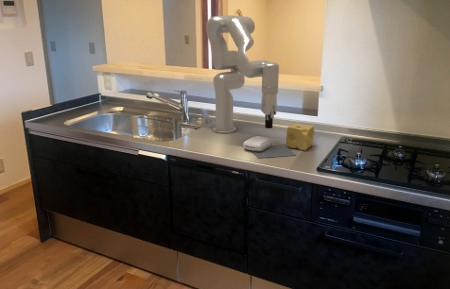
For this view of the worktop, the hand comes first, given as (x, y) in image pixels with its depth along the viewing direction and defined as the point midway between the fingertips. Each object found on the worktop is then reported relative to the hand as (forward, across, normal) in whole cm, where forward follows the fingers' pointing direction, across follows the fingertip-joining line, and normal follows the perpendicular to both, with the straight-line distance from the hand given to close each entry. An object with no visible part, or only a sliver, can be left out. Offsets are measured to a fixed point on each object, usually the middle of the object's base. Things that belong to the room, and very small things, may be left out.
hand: (268, 127), depth 191 cm
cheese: (+10, +2, +15) cm, 18 cm away
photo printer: (+7, -3, -1) cm, 8 cm away
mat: (+10, +6, 0) cm, 12 cm away
